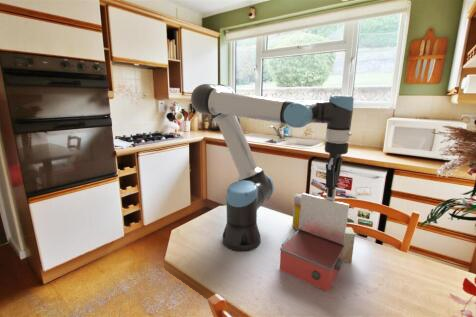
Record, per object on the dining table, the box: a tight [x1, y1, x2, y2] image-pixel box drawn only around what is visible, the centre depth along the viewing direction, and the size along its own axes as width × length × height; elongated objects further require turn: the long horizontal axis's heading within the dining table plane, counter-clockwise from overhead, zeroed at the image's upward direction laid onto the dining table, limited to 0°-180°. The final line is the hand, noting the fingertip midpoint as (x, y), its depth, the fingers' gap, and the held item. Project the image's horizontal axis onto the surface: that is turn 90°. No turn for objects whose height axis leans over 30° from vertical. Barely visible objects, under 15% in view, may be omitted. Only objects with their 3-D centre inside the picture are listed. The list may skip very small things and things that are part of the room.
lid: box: [297, 192, 350, 245], centre depth 85 cm, size 16×14×2 cm
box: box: [342, 226, 356, 264], centre depth 87 cm, size 5×4×11 cm
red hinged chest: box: [279, 229, 344, 293], centre depth 82 cm, size 19×15×8 cm
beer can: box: [292, 192, 304, 230], centre depth 107 cm, size 6×6×15 cm
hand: (329, 204), depth 91 cm, fingers closed
